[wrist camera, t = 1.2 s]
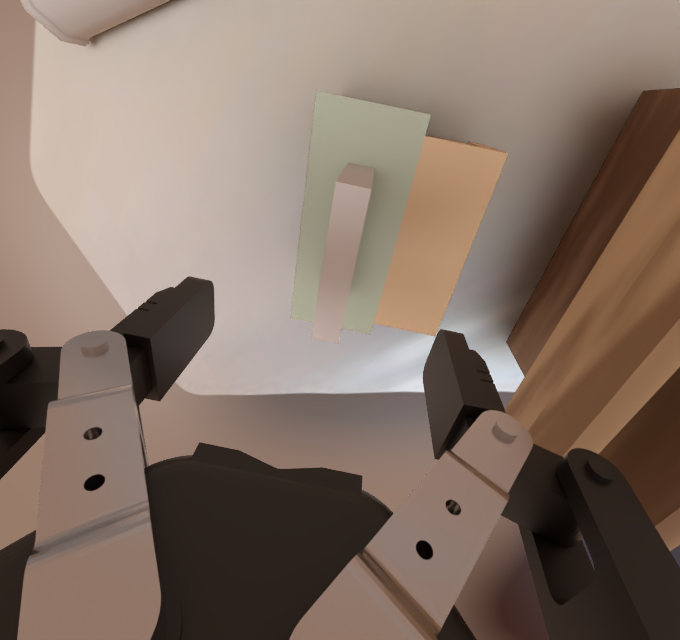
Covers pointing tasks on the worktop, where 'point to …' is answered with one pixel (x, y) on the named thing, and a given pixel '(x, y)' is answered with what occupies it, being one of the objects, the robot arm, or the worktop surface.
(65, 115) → the worktop surface
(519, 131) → the worktop surface
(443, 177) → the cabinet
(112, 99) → the worktop surface
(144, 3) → the tube
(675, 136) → the wall board
